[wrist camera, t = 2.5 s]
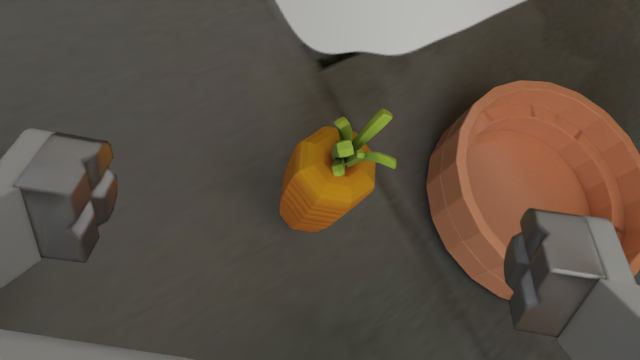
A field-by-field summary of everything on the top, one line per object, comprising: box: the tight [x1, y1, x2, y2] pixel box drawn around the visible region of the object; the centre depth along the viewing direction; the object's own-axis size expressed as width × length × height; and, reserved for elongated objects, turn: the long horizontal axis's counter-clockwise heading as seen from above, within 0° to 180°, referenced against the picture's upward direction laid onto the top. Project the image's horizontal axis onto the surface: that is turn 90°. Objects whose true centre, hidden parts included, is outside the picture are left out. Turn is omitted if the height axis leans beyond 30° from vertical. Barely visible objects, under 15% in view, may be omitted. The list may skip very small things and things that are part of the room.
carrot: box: [280, 109, 396, 233], centre depth 35 cm, size 5×5×15 cm
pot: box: [426, 80, 640, 300], centre depth 45 cm, size 17×17×6 cm
